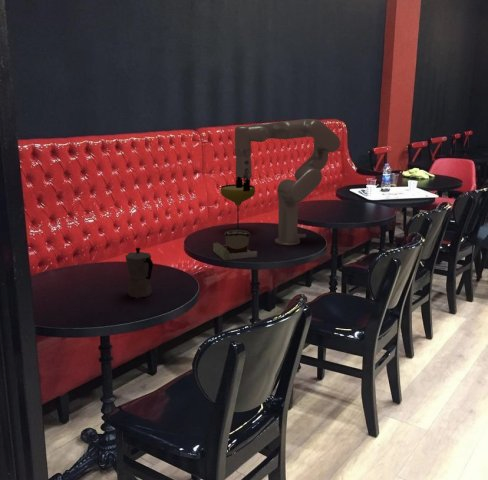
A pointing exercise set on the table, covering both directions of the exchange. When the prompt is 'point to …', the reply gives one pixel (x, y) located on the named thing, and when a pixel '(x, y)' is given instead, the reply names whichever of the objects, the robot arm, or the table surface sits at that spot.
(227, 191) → the cocktail glass
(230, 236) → the food container
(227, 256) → the chute mount
